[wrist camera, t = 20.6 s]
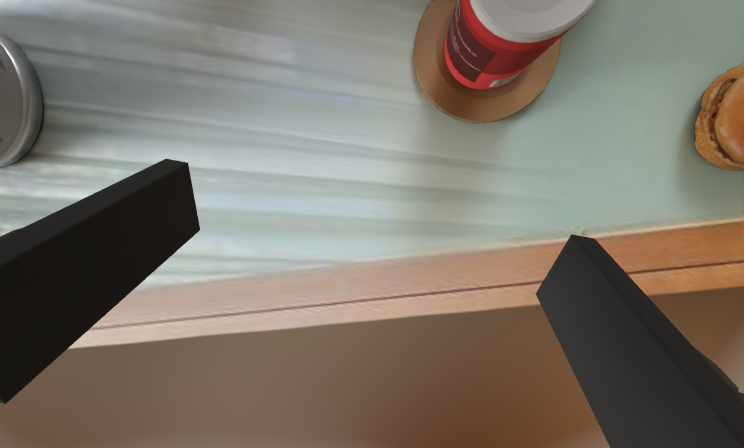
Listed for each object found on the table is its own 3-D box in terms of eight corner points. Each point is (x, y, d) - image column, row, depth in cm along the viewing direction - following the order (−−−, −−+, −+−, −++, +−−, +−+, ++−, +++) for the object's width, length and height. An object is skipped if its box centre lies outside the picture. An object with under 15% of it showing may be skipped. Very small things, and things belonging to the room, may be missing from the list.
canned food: (548, 24, 27) (647, -82, 16) (500, 108, 28) (562, 63, 17) (471, -16, 27) (519, -147, 16) (427, 70, 28) (444, 1, 18)
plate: (399, 107, 30) (399, 105, 29) (433, -38, 28) (434, -45, 27) (531, 136, 29) (535, 134, 28) (576, -11, 27) (581, -17, 26)
